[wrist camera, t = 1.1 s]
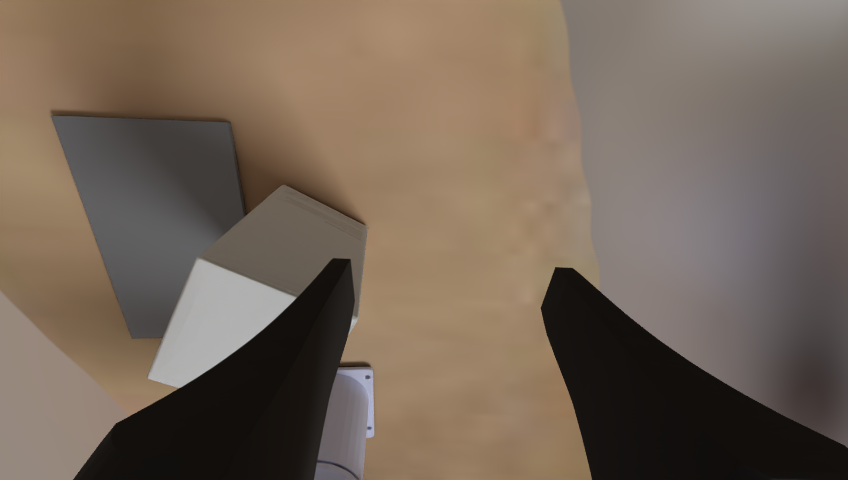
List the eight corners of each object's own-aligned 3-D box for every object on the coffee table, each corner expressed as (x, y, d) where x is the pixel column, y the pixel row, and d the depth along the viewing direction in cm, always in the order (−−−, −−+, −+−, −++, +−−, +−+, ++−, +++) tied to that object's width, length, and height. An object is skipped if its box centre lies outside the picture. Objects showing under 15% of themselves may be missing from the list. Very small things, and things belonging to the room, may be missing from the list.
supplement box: (282, 180, 24) (195, 250, 13) (370, 226, 27) (364, 321, 15) (244, 259, 26) (138, 381, 15) (329, 295, 29) (296, 427, 17)
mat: (266, 333, 30) (264, 336, 29) (135, 335, 29) (131, 338, 28) (230, 122, 23) (227, 122, 22) (56, 115, 22) (50, 115, 21)
